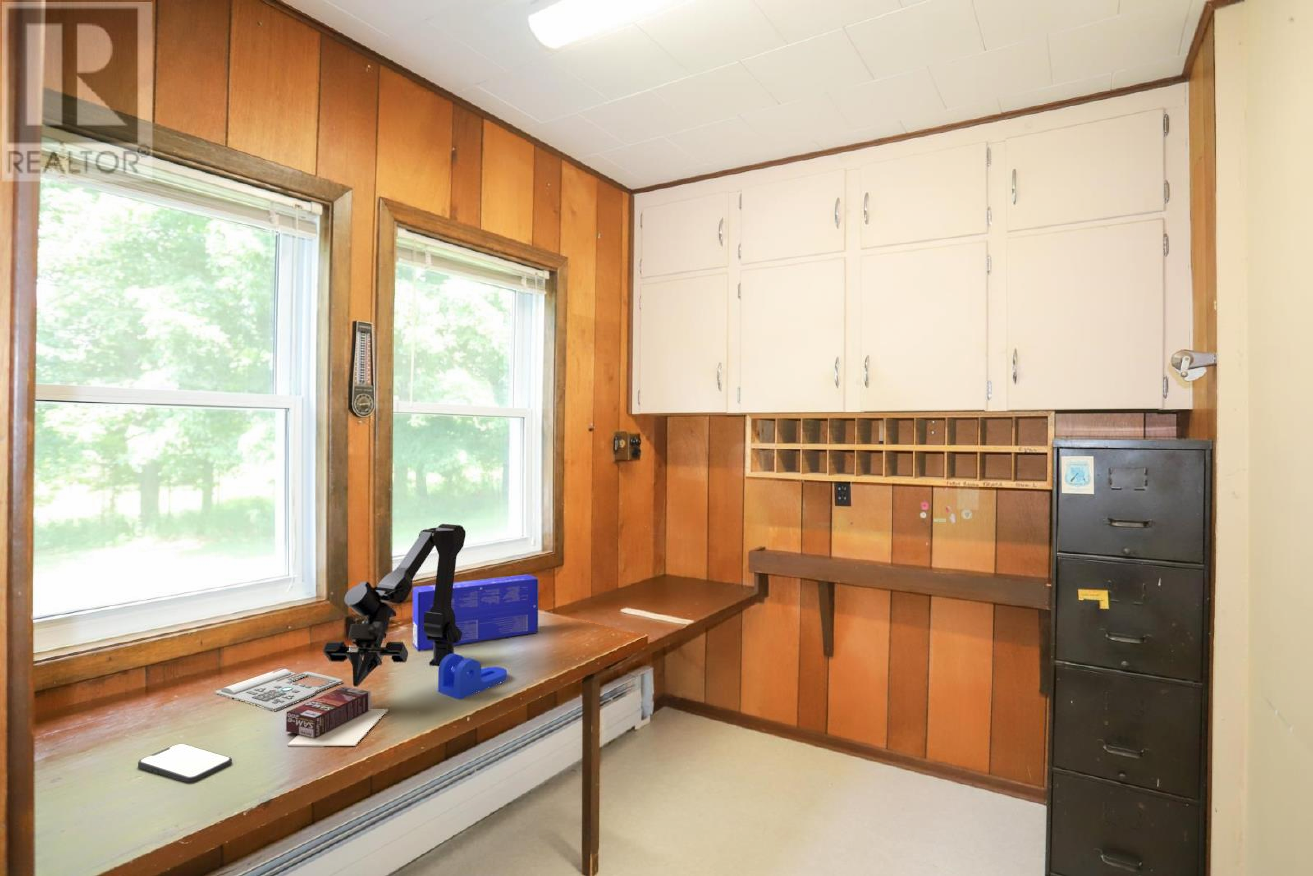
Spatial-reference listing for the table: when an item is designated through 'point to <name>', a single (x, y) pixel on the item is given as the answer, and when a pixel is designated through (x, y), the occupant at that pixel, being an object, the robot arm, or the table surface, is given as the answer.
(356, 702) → the supplement box
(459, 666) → the bracket
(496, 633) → the toner cartridge box
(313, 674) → the office telephone
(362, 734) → the mat
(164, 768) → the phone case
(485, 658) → the table surface
